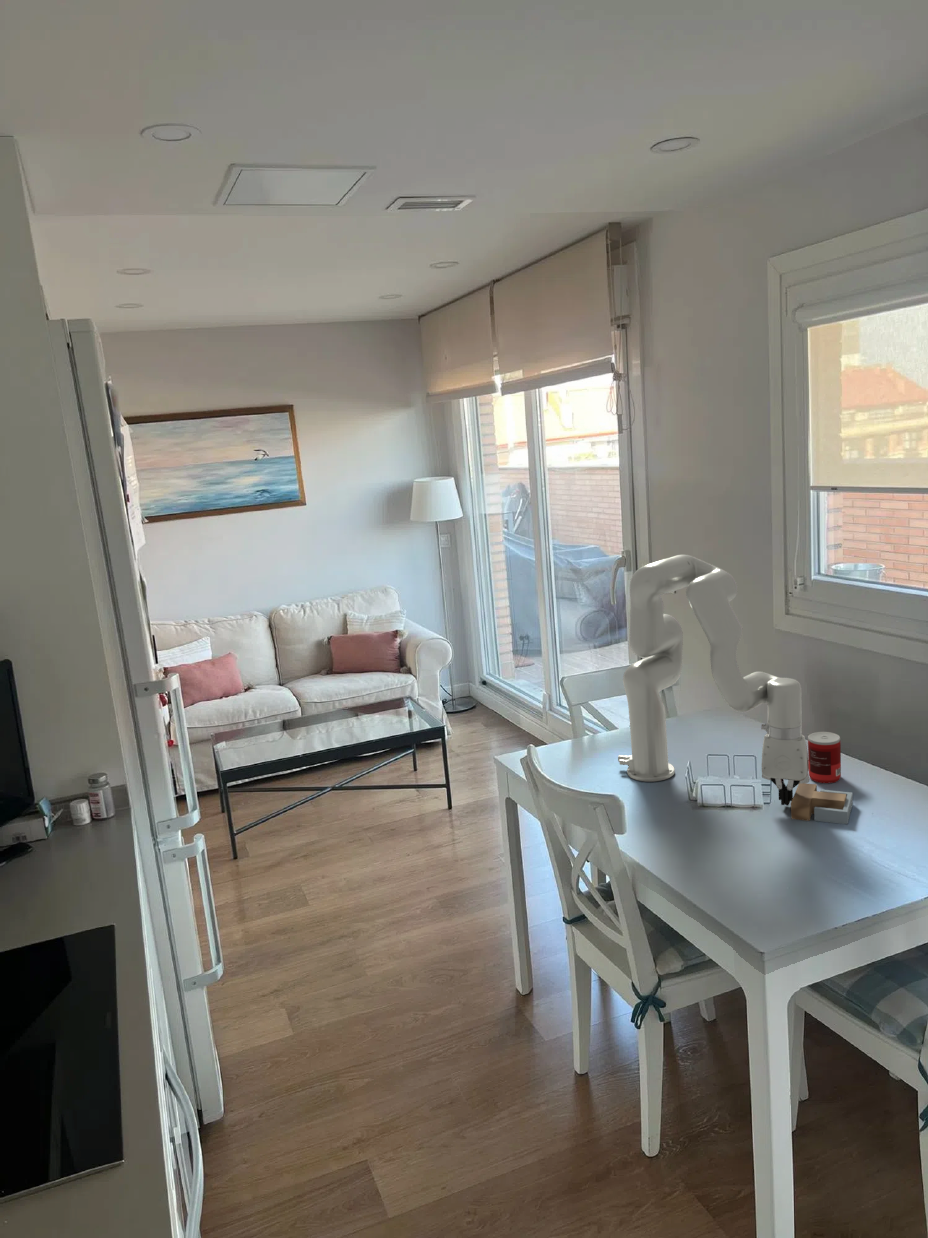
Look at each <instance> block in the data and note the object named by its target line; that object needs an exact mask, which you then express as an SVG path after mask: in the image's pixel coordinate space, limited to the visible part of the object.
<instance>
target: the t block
mask: <svg viewBox="0 0 928 1238" xmlns="http://www.w3.org/2000/svg"><path fill="white" fill-rule="evenodd" d="M817 786H818V784H816V783H815V784H814V783H803V784H801V783H800V784H798V785H797V788H796V789H795V792H794V793H793V794H794V795H793V799H792V801H790V818H791V820H797V821H806V822H807V821H808V822H810V821H811V818H812V816H813V815H814V808H815V807H822V808H832V809H841V810H843V808H844V804H845V801H846V794H840V793H829V792H820V791H818V787H817Z"/></svg>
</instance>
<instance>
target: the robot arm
mask: <svg viewBox="0 0 928 1238" xmlns="http://www.w3.org/2000/svg"><path fill="white" fill-rule="evenodd" d="M685 588H686V590H685V596H686V599H687V601H688V604H689V605H690V607H691V609H692V611H693V613H694V615H695V617H696V619H697V622H699V625H700V627H701V629H702V630H703V633H704V634H705V637H706V638H707V640H708V643H709V646H710V652H709V661H710V669H711V674H712V678H713V681H714V683H715V685H716V687H717V689H718V691H719V692H720V695H721V697H722V699H723V700H724V702H725V703H726V704H727V705H728V707H729V708H731V709H732V710H733V711H734V712H735V711H736V712H737V713H747V712H750V711H752V710H753V709H755V708H757V707H759V706H761V705H765V704H767V708H766V709H767V722H766V723H765V724H762V723H761V727H760V728H761V731H766V734H764V736H763V742H762V750H761V777H762V779H765V780H768V781H771V783H773V784H774V786H776V789H778V800H779V801H780V803H781V804H780V805H781V806H787V807H788V806H789V805H790V804H791V801H792V799H793V797H794V795H793V794H794V793H793V792H794V791H793V790H794V789H795V787H796V786H797V787H798V784H800V783H801V784H803V783H807V784H809V782H810V780H811V778H810V776H809V763H808V744H807V741H806V736H805V735H803V734H802V731H803V729H802V728H803V727H802V726H803V724H802V723H803V722H802V721H803V720H802V714H803V713H802V706H803V705H802V685H801V683H800V681H798V680H797V679H795V678H790V677H780V676H776V675H773V674H770V673H768V672H764V671H754V672H752V673H749V674H747V675H745V676H743V674H742V672H741V670H740V668H739V665H738V661H737V650H738V646H739V643H740V641H741V638H742V636H743V632H744V629H743V626H742V624H741V622H740V621H739V618H738V616H737V615H736V612H735V611H734V609H733V607H732V605H731V603H730V602H731V601H733V600H734V599H735V598H736V596H737V594H738V588H739V587H738V583H737V582H736V579H735V578H734V577H733V575H732V574H731V573H730V572H728V571H726V570H724V569H723V568H721V567H718V566H716V565H714V564H711V563H709V562H706V561H704V560H703V559H699V558H697V557H695V556H693V555H691V554H690V555H689V554H677V555H674V556H671V557H667V558H662V559H660V560H657V561H654V562H650V563H648V564H645V565H643V566H641V567H640V568H638V569H636V571H635V572H634V573H633V574H632V576H631V579H630V582H629V596H630V597H629V599H630V600H629V601H630V613H629V647H630V650H631V652H632V653H633V654H634V655H635V656H636V657H639V658H642V659H639V660H637V661H635V662H633V663H631V664H630V665H629V666H627V668H626V669H625V671H624V674H623V676H622V683H623V684H622V685H623V688H624V692H625V695H626V699H627V706H628V719H629V729H630V744H631V745H630V746H631V754H630V755H625V754H618V756H617V761H618V762H619V765H620V766H622V765H623V766H627V769H626V771H627V773H626V775H628V777H630V778H631V779H633V780H636V781H639V782H650V783H651V782H660V781H665V780H668V779H670V778H671V777H673V776H674V775H675V774H676V773H675V770H676V769H675V767H674V765H673V764H671V763H670V762H669V755H668V753H669V752H668V750H669V749H668V734H667V717H666V708H665V705H664V702H663V700H662V698H661V696H660V692H661V691H663V690H665V689H667V688H669V687H671V686H673V685H674V684H676V683H677V682H678V681H679V679H680V677H681V675H682V668H683V650H684V648H683V645H684V633H683V628H682V625H681V623H680V622H679V621H678V620H677V619H676V618H675V617H674V616H673V615H671V614H668V613H664V612H665V608H664V607H665V606H664V600H663V598H662V596H661V595H665V594H670V593H673V592H676V591H679V590H681V589H685ZM785 780H787V784H786V783H785Z"/></svg>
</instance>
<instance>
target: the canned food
mask: <svg viewBox="0 0 928 1238" xmlns="http://www.w3.org/2000/svg"><path fill="white" fill-rule="evenodd" d="M841 745H842V743H841V736H840V735H839V734H837V733H834V732H830V731H815V732H813V733H810V734H808V736H807V752H808V764H809V770H808V775H809V779H810V780H812V781H814V782H816V783H820V784H833V783H837V782H838V781H839V780H840V779H841V777H842V760H841V759H842V758H841V757H842V756H841V754H842V753H841V752H842V751H841V750H842V749H841V747H842V746H841Z"/></svg>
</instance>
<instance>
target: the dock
mask: <svg viewBox="0 0 928 1238" xmlns="http://www.w3.org/2000/svg"><path fill="white" fill-rule="evenodd" d="M819 792H829V793H840V794H846V801H845V804H844V808H843V810H841V809H832V808H822V807H815V808H814V814H813V815H814V822H824V823H832V824H833V823H834V824H840V825H841V824H842V825H848V824H849V821H850V817H851V813H852V809H853V805H854V803H853V801H854V800H853V798H854V797H853V796H854V795H853V793H854V792H852V791H851V792H849V791H839V790H829V789H820V791H819Z"/></svg>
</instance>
